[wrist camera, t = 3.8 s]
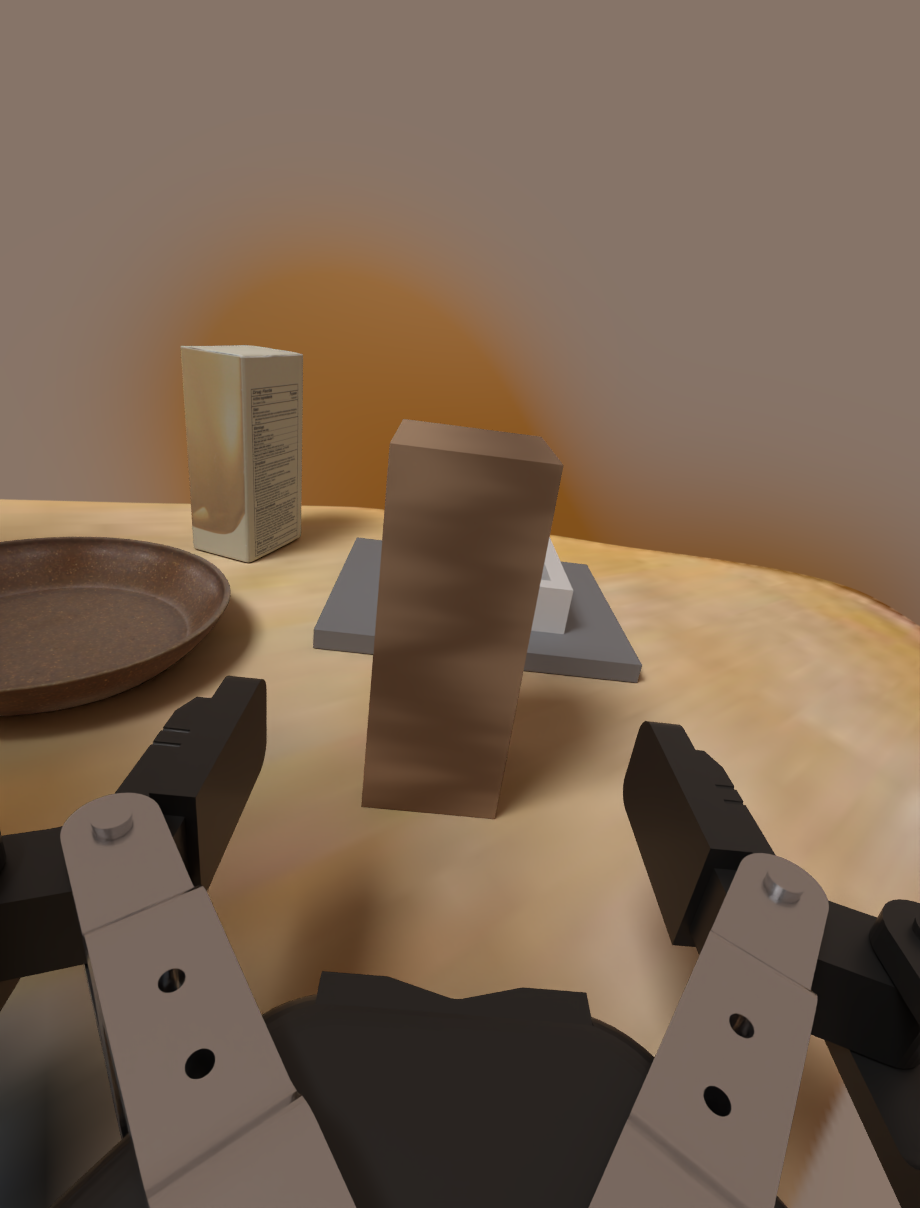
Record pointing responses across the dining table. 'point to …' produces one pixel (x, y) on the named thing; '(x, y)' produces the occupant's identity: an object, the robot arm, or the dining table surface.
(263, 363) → the skincare box
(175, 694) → the dining table surface
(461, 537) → the walnut square peg
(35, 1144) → the dining table surface
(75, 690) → the saucer
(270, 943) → the dining table surface
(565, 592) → the collar holder
